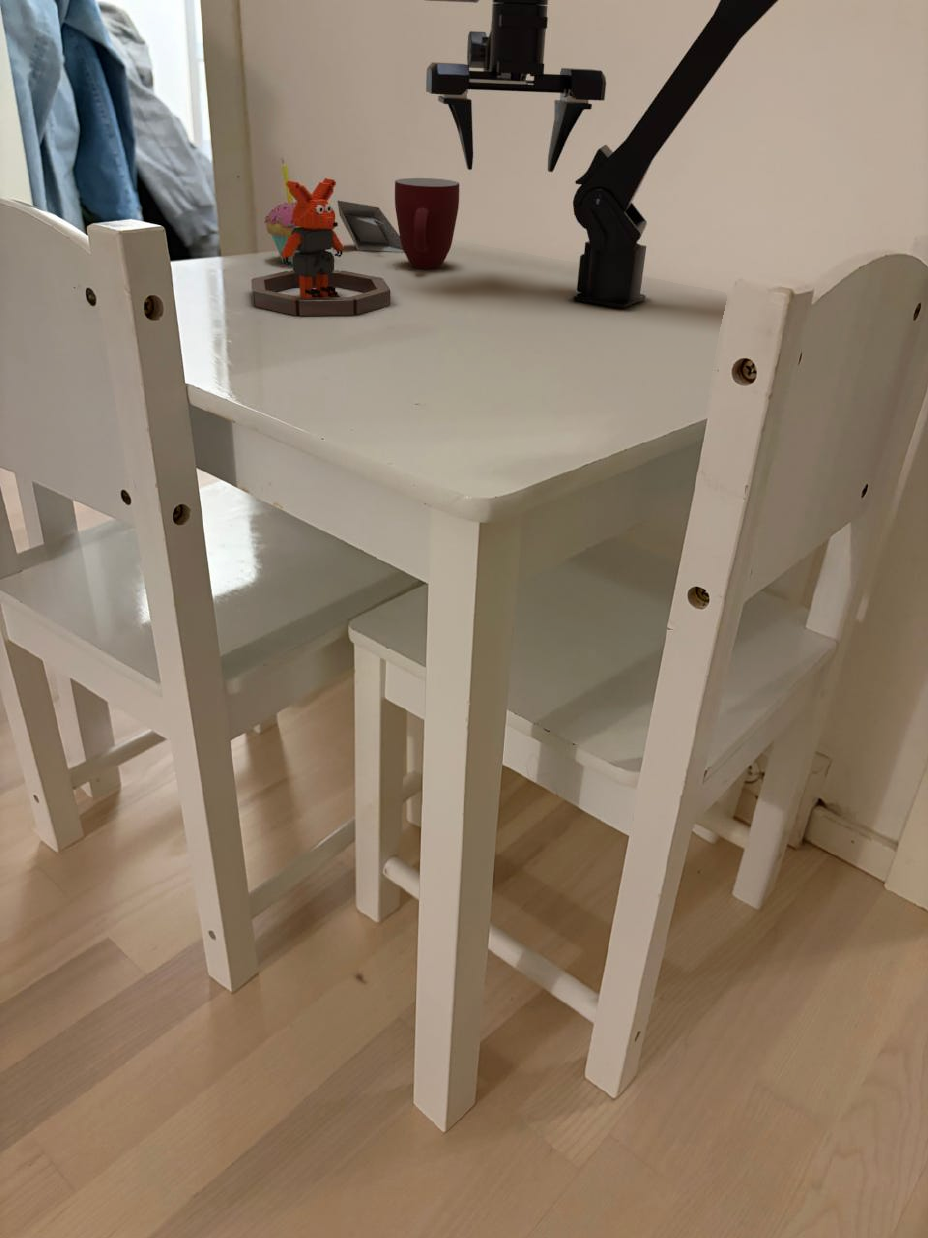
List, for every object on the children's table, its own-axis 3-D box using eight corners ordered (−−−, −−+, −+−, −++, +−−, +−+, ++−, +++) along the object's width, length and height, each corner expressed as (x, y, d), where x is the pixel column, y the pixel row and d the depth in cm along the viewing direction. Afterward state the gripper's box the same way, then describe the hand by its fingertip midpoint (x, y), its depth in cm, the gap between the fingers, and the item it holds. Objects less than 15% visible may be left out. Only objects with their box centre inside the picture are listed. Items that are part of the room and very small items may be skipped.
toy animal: (309, 309, 102) (304, 187, 95) (278, 299, 105) (271, 180, 99) (366, 299, 107) (364, 182, 100) (335, 290, 110) (332, 176, 104)
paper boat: (405, 233, 136) (431, 226, 128) (386, 274, 136) (410, 269, 128) (333, 185, 130) (354, 173, 122) (313, 228, 131) (333, 219, 123)
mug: (458, 277, 118) (461, 190, 113) (393, 275, 118) (393, 187, 112) (456, 260, 127) (458, 178, 122) (395, 258, 127) (395, 176, 121)
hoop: (413, 298, 108) (413, 283, 107) (329, 323, 97) (329, 307, 96) (313, 278, 115) (312, 264, 114) (224, 300, 104) (222, 284, 103)
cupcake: (254, 263, 121) (247, 158, 114) (289, 252, 127) (284, 153, 121) (314, 271, 118) (310, 164, 112) (346, 259, 125) (344, 158, 119)
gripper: (587, 10, 106) (573, 164, 115) (422, 1, 104) (419, 159, 112) (615, 8, 97) (598, 176, 105) (433, -2, 94) (430, 171, 102)
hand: (510, 170), depth 106 cm, fingers open, 9 cm apart
